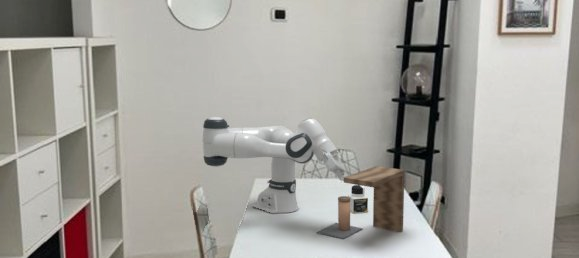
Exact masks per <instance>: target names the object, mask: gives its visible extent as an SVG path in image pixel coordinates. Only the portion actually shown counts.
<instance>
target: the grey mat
mask: <svg viewBox="0 0 579 258" xmlns="http://www.w3.org/2000/svg"><path fill="white" fill-rule="evenodd" d="M360 231H363V228H362V227H359V226H358V227H357V226H353V225H350V230H348V231H341V230H339V229H338V222H335V223H332V224H330V225H328V226H326V227H324V228H322V229H320V230H317V231H316V234H320V235H324V236H327V237H332V238H337V239H339V240H340V239H341V240H345V239H347V238H349V237H351V236H353V235H354V234H355V235H356V234H357V233H359V232H360Z"/></svg>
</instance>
